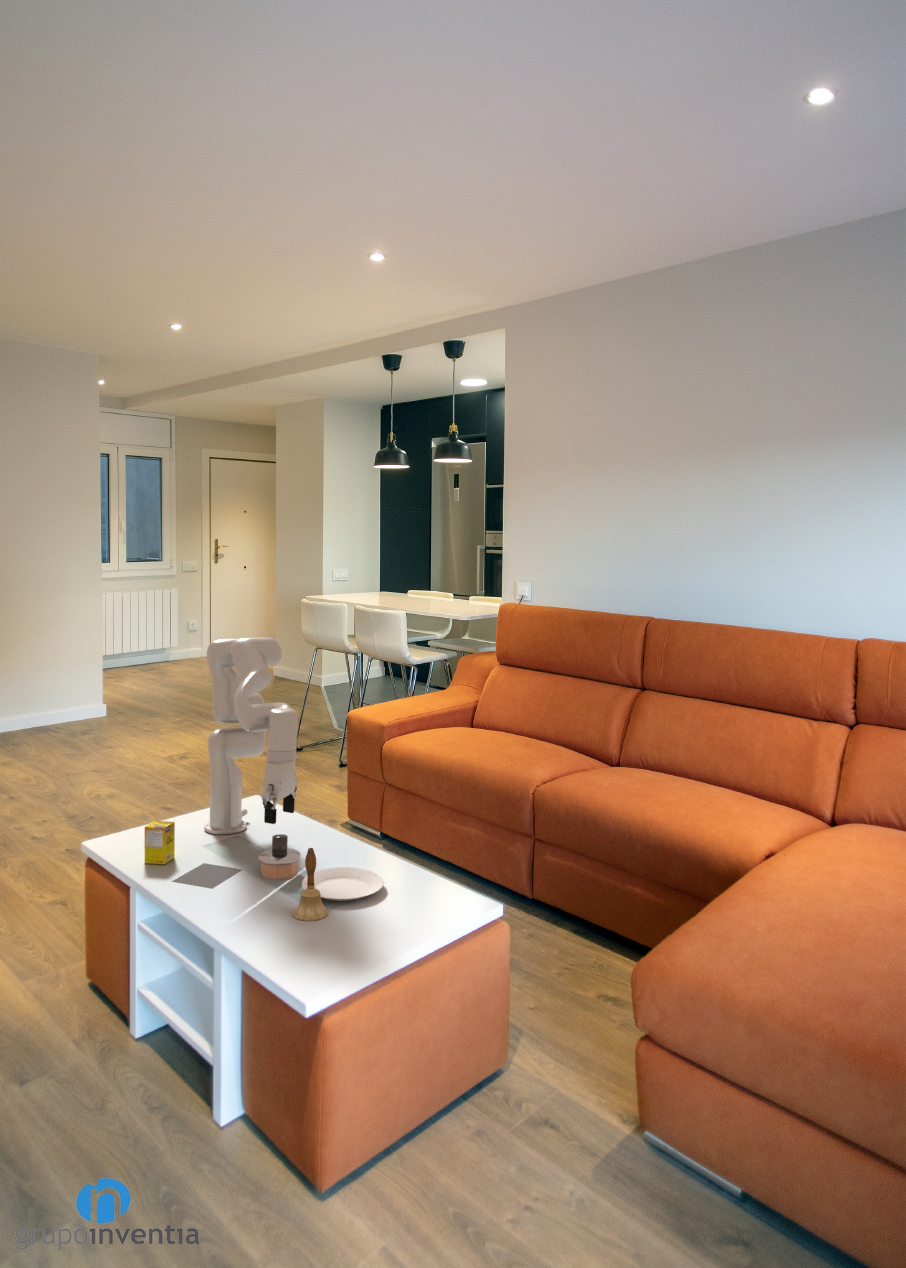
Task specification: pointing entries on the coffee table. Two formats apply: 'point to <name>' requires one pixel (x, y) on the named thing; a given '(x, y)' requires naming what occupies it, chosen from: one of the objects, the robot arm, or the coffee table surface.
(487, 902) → the coffee table surface
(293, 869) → the hollow octagonal tube
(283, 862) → the lid
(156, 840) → the supplement box
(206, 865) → the mat
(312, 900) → the hand bell
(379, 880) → the plate
